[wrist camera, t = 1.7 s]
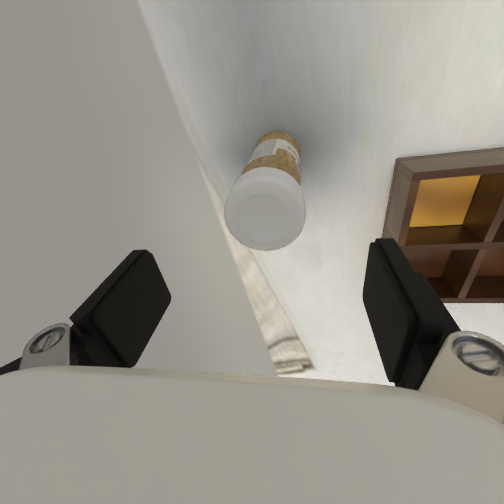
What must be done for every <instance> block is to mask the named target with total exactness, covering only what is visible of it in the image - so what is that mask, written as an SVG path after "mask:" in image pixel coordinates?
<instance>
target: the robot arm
mask: <svg viewBox="0 0 504 504" xmlns="http://www.w3.org/2000/svg"><path fill="white" fill-rule="evenodd" d="M170 301H171V294H170V292H169V290H168V288H167V285H166V283H165V281H164V279H163V277H162V274H161V272H160V270H159V268H158V265H157V263H156V261H155V259H154V257H153V255H152V253H150V252H149V251H147V250H133V251H132V252H131V253H130V254H129V255H128V256H127V257H126V258H125V259H124V260H123V261H122V263H120V265H119V266H118V267H117V268H116V269H115V270H114V271H113V272H112V273H111V274H110V275H109V276H108V277H107V278H106V279H105V280H104V281H103V283H102V284H101V285H100V286H99V287H98V288H97V289H96V290H95V291H94V292H93V293H92V294H91V295H90V296H89V297H88V298H87V300H86V301H85V302H84V303H83V304H82V305H81V306H80V307H79V308H78V309H77V310H76V311H75V312H74V313H73V314H72V315H71V316H70V320H71V321H72V322H73V323H74V324H73V325H72V327H70V326H69V325H67V324H65V323H59V324H55V325H52V326H50V327H47V328H46V329H44V330H42V331H40V332H39V333H38V334H36V335H35V336H34V337H33V338H32V339H31V340H30V341H29V342H28V343H27V344H26V346H25V348H24V351H23V355H22V357H21V358H18V359H16V360H15V361H13V362H11V363H9V364H7V365H5V366H3V367H1V368H0V504H504V345H502V344H501V343H500V342H498V341H496V340H494V339H492V338H490V337H488V336H486V335H483V334H480V333H477V332H471V331H461V330H460V328H459V327H458V325H457V324H456V322H455V321H454V319H453V318H452V316H451V315H450V313H449V312H448V310H447V309H446V307H445V306H444V304H443V303H442V301H441V300H440V298H439V297H438V295H437V294H436V292H435V291H434V289H433V288H432V286H431V285H430V283H429V282H428V280H427V279H426V277H425V276H424V275H423V274H422V273H421V272H419V271H414V269H413V267H412V266H411V264H410V263H409V261H408V260H407V258H406V256H405V255H404V253H403V252H402V250H401V249H400V247H399V245H398V244H397V242H396V241H395V239H394V238H378V239H376V240H375V242H372V243H370V247H369V253H368V260H367V267H366V274H365V281H364V288H363V302H364V305H365V309H366V312H367V315H368V318H369V321H370V324H371V328H372V331H373V334H374V337H375V340H376V344H377V347H378V350H379V353H380V356H381V359H382V363H383V366H384V369H385V372H386V375H387V378H388V380H389V382H394V383H395V386H396V387H394V386H386V385H378V384H370V383H358V382H345V381H333V380H320V379H305V378H290V377H274V376H258V375H243V374H226V373H208V372H192V371H175V370H156V369H137V368H132V367H133V366H135V365H136V363H137V361H138V360H139V358H140V356H141V354H142V352H143V351H144V349H145V347H146V345H147V343H148V342H149V340H150V338H151V336H152V334H153V333H154V331H155V329H156V327H157V325H158V324H159V322H160V320H161V318H162V316H163V314H164V313H165V311H166V309H167V307H168V306H169V304H170Z"/></svg>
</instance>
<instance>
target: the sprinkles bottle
mask: <svg viewBox="0 0 504 504" xmlns="http://www.w3.org/2000/svg"><path fill="white" fill-rule="evenodd" d="M224 217H225V222H226V225H227V227H228V229H229V231H230V233H231V234H232V235H233V236H234V237H235V238H236V239H237V240H238V241H239V242H240V243H242V244H243V245H245V246H247V247H249V248H252V249H256V250H262V251H271V250H277V249H280V248H283V247H285V246H287V245H288V244H290V243H291V242H293V241H294V240H295V239H296V238H297V237H298V235H299V234H300V232H301V231H302V229H303V226H304V223H305V218H306V206H305V198H304V194H303V191H302V189H301V173H300V148H299V146H298V144H297V142H296V141H295V139H294V138H293V137H292V136H291V135H289V134H287V133H285V132H279V131H278V132H270V133H268V134H267V135H265V136H263V137H262V138H261V139H260V140H259V142H258V143H257V145H256V148H255V150H254V152H253V154H252V155H251V157H250V159H249V161H248V163H247V165H246V167H245V169H244V170H243V173H242V175H241V176H240V177H239V178H238V180H237V181H236V182H235V184H234V185H233V187H232V189H231V190H230V193H229V195H228V197H227V199H226V202H225V207H224Z"/></svg>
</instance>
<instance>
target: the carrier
mask: <svg viewBox="0 0 504 504" xmlns="http://www.w3.org/2000/svg"><path fill="white" fill-rule="evenodd" d="M382 238H394V239H395V241H396V242H397V244H398V245H399V247H400V249H401V250H402V252H403V253H404V255H405V256H406V258H407V260H408V261H409V263H410V264H411V266H412V267H413V269H414V271H419V272H421V273H422V274H423V275H424V276H425V277H426V279H427V280H428V282H429V283H430V285H431V286H432V288H433V289H434V291H435V292H436V294H437V295H438V297H439V298H440V300H441V301H442V303H504V148H496V149H486V150H477V151H467V152H458V153H448V154H438V155H429V156H419V157H410V158H400V159H396V164H395V169H394V175H393V180H392V186H391V191H390V197H389V202H388V208H387V213H386V219H385V225H384V230H383V236H382Z"/></svg>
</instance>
